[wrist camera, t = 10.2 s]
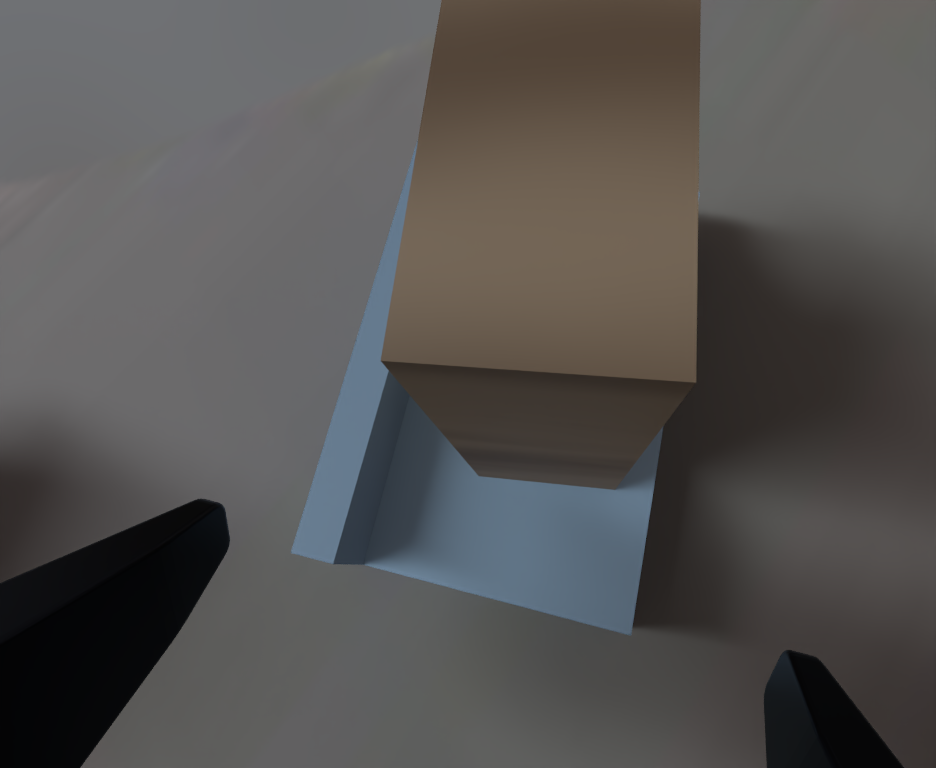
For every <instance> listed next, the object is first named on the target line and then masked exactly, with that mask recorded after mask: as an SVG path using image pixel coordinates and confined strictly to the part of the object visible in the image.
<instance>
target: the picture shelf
mask: <svg viewBox="0 0 936 768" xmlns="http://www.w3.org/2000/svg"><path fill="white" fill-rule="evenodd" d="M417 143H418V141H417ZM416 149H417V144H416V147H415V150H414V154H413V157H412V160H411V163H410V167H409V170H408V173H407V176H406V180H405V183H404V186H403V189H402V193H401V196H400V199H399V202H398V206H397V209H396V212H395V215H394V219H393V222H392V225H391V228H390V232H389V235H388V238H387V241H386V245H385V248H384V251H383V254H382V258H381V261H380V264H379V267H378V271H377V274H376V277H375V281H374V284H373V287H372V290H371V294H370V297H369V300H368V303H367V307H366V310H365V313H364V316H363V320H362V323H361V326H360V329H359V333H358V336H357V339H356V342H355V346H354V349H353V352H352V355H351V359H350V362H349V365H348V368H347V372H346V375H345V378H344V381H343V385H342V388H341V391H340V394H339V398H338V401H337V404H336V407H335V411H334V414H333V417H332V420H331V424H330V427H329V430H328V433H327V437H326V440H325V443H324V446H323V450H322V453H321V456H320V459H319V463H318V466H317V469H316V472H315V476H314V479H313V482H312V486H311V489H310V492H309V495H308V499H307V502H306V505H305V508H304V512H303V515H302V518H301V521H300V525H299V528H298V531H297V534H296V538H295V541H294V544H293V547H292V551H291V553H294V554H297V555H301V556H305V557H308V558H312V559H316V560H320V561H323V562H327V563H331V564H360V565H367V566H371V567H374V568H378V569H382V570H386V571H389V572H393V573H397V574H401V575H404V576H408V577H412V578H416V579H420V580H423V581H427V582H431V583H435V584H438V585H442V586H446V587H450V588H453V589H457V590H461V591H465V592H468V593H472V594H476V595H480V596H483V597H487V598H491V599H495V600H499V601H502V602H506V603H510V604H514V605H517V606H521V607H525V608H529V609H532V610H536V611H540V612H544V613H547V614H551V615H555V616H559V617H562V618H566V619H570V620H574V621H578V622H581V623H585V624H589V625H593V626H596V627H600V628H604V629H608V630H611V631H615V632H619V633H623V634H626V635H630V636H631V633H632V626H633V620H634V613H635V607H636V601H637V594H638V588H639V581H640V575H641V568H642V562H643V555H644V549H645V543H646V536H647V530H648V523H649V517H650V510H651V504H652V497H653V491H654V485H655V478H656V472H657V465H658V459H659V452H660V446H661V439H662V433H663V427H664V426H663V427H662V428H661V430H660V431H659V432H658V434H657V435H656V436H655V438H654V439H653V440H652V442H651V443H650V444H649V446H648V447H647V448H646V450H645V451H644V452H643V454H642V455H641V456H640V457H639V459H638V460H637V461H636V463H635V464H634V465H633V467H632V468H631V469H630V471H629V472H628V473H627V475H626V476H625V477H624V479H623V480H622V481H621V483H620V484H619V485H618V487H617V488H616V489H615V490H610V489H600V488H590V487H580V486H570V485H561V484H551V483H541V482H531V481H521V480H511V479H501V478H491V477H481V476H478V475H477V474H476V472H475V471H474V470H473V469H472V468H471V467H470V465H469V464H468V463H467V462H466V461H465V459H464V458H463V457H462V456H461V455H460V454H459V452H458V451H457V450H456V449H455V448H454V447H453V445H452V444H451V443H450V442H449V441H448V440H447V438H446V437H445V436H444V435H443V434H442V432H441V431H440V430H439V429H438V428H437V427H436V425H435V424H434V423H433V422H432V421H431V420H430V418H429V417H428V416H427V415H426V414H425V412H424V411H423V410H422V409H421V408H420V407H419V405H418V404H417V403H416V402H415V401H414V400H413V398H412V397H411V396H410V395H409V394H408V393H407V391H406V390H405V389H404V388H403V387H402V385H401V384H400V383H399V382H398V381H397V380H396V378H395V377H394V376H393V375H392V374H391V373H390V371H389V370H388V369H387V368H386V367H385V365H384V364H383V363H382V362H381V355H382V349H383V343H384V338H385V332H386V326H387V320H388V314H389V308H390V302H391V296H392V290H393V285H394V279H395V273H396V267H397V261H398V255H399V249H400V243H401V237H402V232H403V226H404V220H405V214H406V208H407V202H408V196H409V190H410V185H411V179H412V173H413V167H414V161H415V155H416ZM699 195H700V192H698V201H699Z"/></svg>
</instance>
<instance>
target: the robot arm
mask: <svg viewBox="0 0 936 768" xmlns="http://www.w3.org/2000/svg"><path fill="white" fill-rule="evenodd" d="M229 542H230V536H229V530H228V524H227V518H226V512H225V508H224V507H223V505H222V504H220V503H218V502H214V501H210V500H206V499H197V500H194V501H192V502H189V503H187V504H185V505H182V506H180V507H178V508H175V509H173V510H171V511H168V512H166V513H164V514H161V515H159V516H157V517H154V518H152V519H150V520H147V521H145V522H143V523H140V524H138V525H136V526H133V527H131V528H128V529H126V530H124V531H121V532H119V533H117V534H114V535H112V536H110V537H107V538H105V539H103V540H100V541H98V542H96V543H93V544H91V545H89V546H86V547H84V548H82V549H79V550H77V551H75V552H72V553H70V554H68V555H65V556H63V557H61V558H58V559H56V560H54V561H51V562H49V563H47V564H44V565H42V566H39V567H37V568H35V569H32V570H30V571H28V572H25V573H23V574H21V575H18V576H16V577H14V578H11V579H9V580H7V581H4V582H2V583H0V768H80V767H81V766H82V765H83V763H84V762H85V760H86V759H87V758H88V756H89V755H90V754H91V752H92V751H93V749H94V748H95V747H96V745H97V744H98V743H99V741H100V740H101V739H102V737H103V736H104V734H105V733H106V732H107V730H108V729H109V728H110V726H111V725H112V723H113V722H114V721H115V719H116V718H117V717H118V715H119V714H120V713H121V711H122V710H123V708H124V707H125V706H126V704H127V703H128V702H129V700H130V699H131V697H132V696H133V695H134V693H135V692H136V691H137V689H138V688H139V687H140V685H141V684H142V682H143V681H144V680H145V678H146V677H147V676H148V674H149V673H150V671H151V670H152V669H153V667H154V666H155V665H156V663H157V662H158V661H159V659H160V658H161V656H162V655H163V654H164V652H165V651H166V650H167V648H168V647H169V645H170V644H171V643H172V641H173V640H174V638H175V637H176V635H177V634H178V633H179V631H180V630H181V628H182V626H183V625H184V623H185V622H186V620H187V619H188V617H189V615H190V613H191V612H192V610H193V608H194V607H195V605H196V603H197V602H198V600H199V598H200V597H201V595H202V593H203V592H204V590H205V588H206V587H207V585H208V583H209V581H210V580H211V578H212V576H213V575H214V573H215V571H216V570H217V568H218V566H219V565H220V563H221V561H222V560H223V558H224V556H225V554H226V552H227V550H228V547H229ZM764 715H765V737H766V758H767V768H904V767H903V766H902V764H901V763H900V762H899V760H898V759H897V758H896V757H895V755H894V754H893V753H892V751H891V750H890V749H889V748H888V746H887V745H886V744H885V742H884V741H883V740H882V739H881V737H880V736H879V735H878V733H877V732H876V731H875V730H874V728H873V727H872V726H871V725H870V723H869V722H868V721H867V719H866V718H865V717H864V716H863V714H862V713H861V712H860V710H859V709H858V708H857V707H856V705H855V704H854V703H853V701H852V700H851V699H850V698H849V696H848V695H847V694H846V692H845V691H844V690H843V689H842V687H841V686H840V685H839V683H838V682H837V681H836V680H835V678H834V677H833V676H832V675H831V673H830V672H829V671H828V669H827V668H826V667H825V666H824V664H823V663H822V662H821V661H820V660H819V659H818V658H816V657H814V656H811V655H808V654H804V653H800V652H796V651H792V650H786V651H784V652H783V653H782V655H781V656H780V658H779V660H778V662H777V664H776V666H775V668H774V670H773V672H772V674H771V676H770V678H769V680H768V682H767V685H766V688H765V693H764Z"/></svg>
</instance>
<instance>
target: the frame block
mask: <svg viewBox="0 0 936 768" xmlns="http://www.w3.org/2000/svg"><path fill="white" fill-rule="evenodd" d="M700 6H701V0H442V2H441V8H440V14H439V20H438V26H437V31H436V37H435V43H434V49H433V55H432V61H431V67H430V73H429V79H428V84H427V90H426V96H425V102H424V108H423V114H422V120H421V126H420V132H419V137H418V143H417V149H416V155H415V161H414V167H413V173H412V179H411V185H410V190H409V196H408V202H407V208H406V214H405V220H404V226H403V232H402V237H401V243H400V249H399V255H398V261H397V267H396V273H395V279H394V285H393V290H392V296H391V302H390V308H389V314H388V320H387V326H386V332H385V338H384V343H383V349H382V355H381V362H382V363H383V364H384V365H385V367H386V368H387V369H388V370H389V371H390V373H391V374H392V375H393V376H394V377H395V378H396V380H397V381H398V382H399V383H400V384H401V385H402V387H403V388H404V389H405V390H406V391H407V393H408V394H409V395H410V396H411V397H412V398H413V400H414V401H415V402H416V403H417V404H418V405H419V407H420V408H421V409H422V410H423V411H424V412H425V414H426V415H427V416H428V417H429V418H430V420H431V421H432V422H433V423H434V424H435V425H436V427H437V428H438V429H439V430H440V431H441V432H442V434H443V435H444V436H445V437H446V438H447V440H448V441H449V442H450V443H451V444H452V445H453V447H454V448H455V449H456V450H457V451H458V452H459V454H460V455H461V456H462V457H463V458H464V459H465V461H466V462H467V463H468V464H469V465H470V467H471V468H472V469H473V470H474V471H475V472H476V474H477V475H478V476H481V477H491V478H501V479H511V480H521V481H531V482H541V483H551V484H561V485H570V486H580V487H590V488H600V489H610V490H615V489H616V488H617V487H618V485H619V484H620V483H621V481H622V480H623V479H624V477H625V476H626V475H627V473H628V472H629V471H630V469H631V468H632V467H633V465H634V464H635V463H636V461H637V460H638V459H639V457H640V456H641V455H642V454H643V452H644V451H645V450H646V448H647V447H648V446H649V444H650V443H651V442H652V440H653V439H654V438H655V436H656V435H657V434H658V432H659V431H660V430H661V428H662V427H663V426H664V425H665V423H666V422H667V421H668V419H669V418H670V417H671V415H672V414H673V413H674V411H675V410H676V409H677V407H678V406H679V405H680V403H681V402H682V401H683V399H684V398H685V397H686V395H687V394H688V393H689V392H690V390H691V389H692V388H693V386H694V385H695V384H696V360H697V271H698V183H699V95H700Z"/></svg>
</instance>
